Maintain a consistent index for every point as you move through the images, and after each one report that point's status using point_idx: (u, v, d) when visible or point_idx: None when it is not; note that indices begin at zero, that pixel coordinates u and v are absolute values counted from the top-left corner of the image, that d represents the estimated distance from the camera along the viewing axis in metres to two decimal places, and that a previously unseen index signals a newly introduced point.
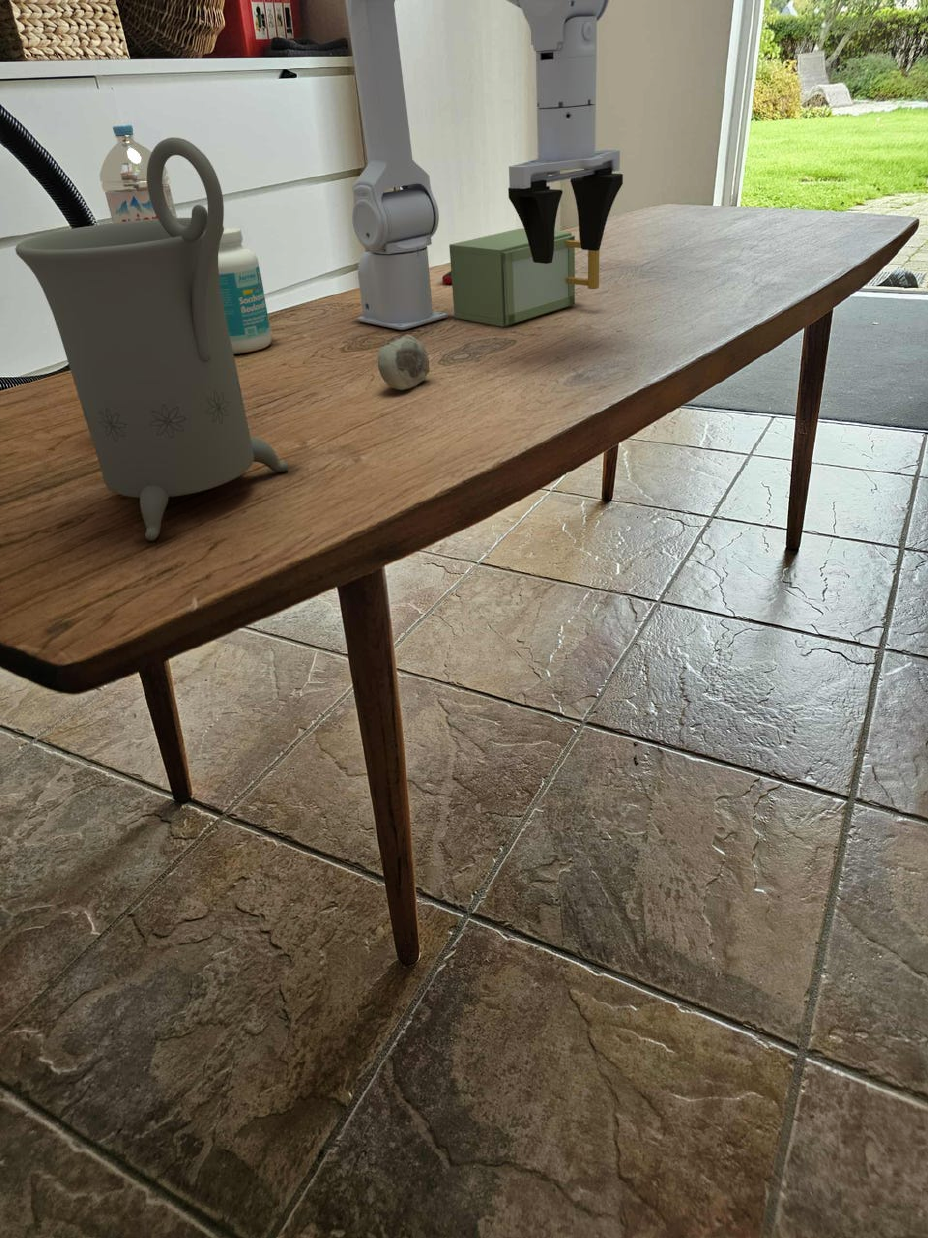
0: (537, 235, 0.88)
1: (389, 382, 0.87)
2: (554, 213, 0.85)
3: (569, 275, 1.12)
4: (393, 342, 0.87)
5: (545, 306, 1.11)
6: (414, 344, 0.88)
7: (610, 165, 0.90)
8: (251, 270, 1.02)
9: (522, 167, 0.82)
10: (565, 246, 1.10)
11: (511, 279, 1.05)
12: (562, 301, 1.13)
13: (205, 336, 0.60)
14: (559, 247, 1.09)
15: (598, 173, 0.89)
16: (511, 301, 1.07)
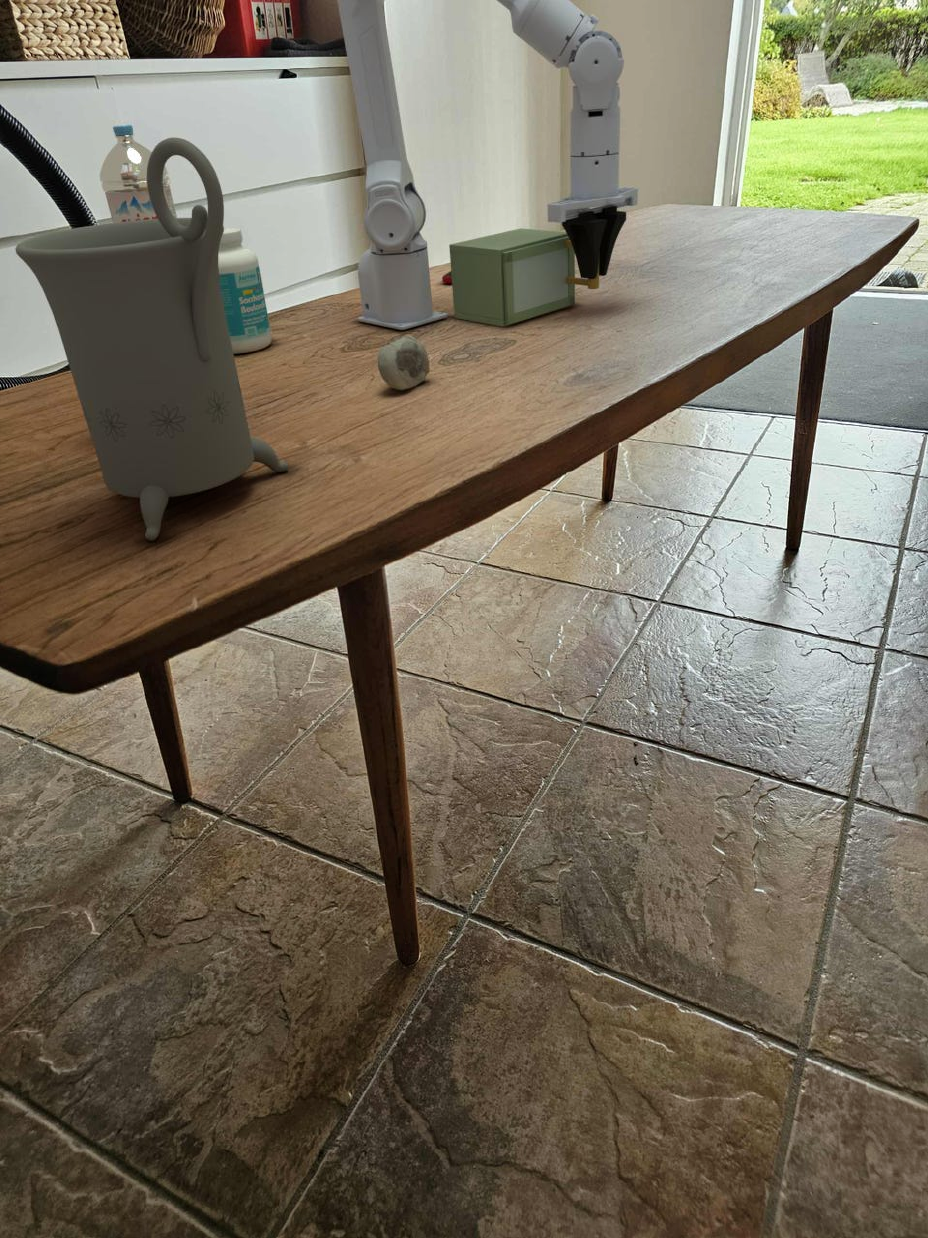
0: (585, 255, 1.07)
1: (389, 382, 0.87)
2: (600, 238, 1.04)
3: (569, 275, 1.12)
4: (393, 342, 0.87)
5: (545, 306, 1.11)
6: (414, 344, 0.88)
7: (630, 200, 1.08)
8: (251, 270, 1.02)
9: (559, 205, 1.00)
10: (565, 246, 1.10)
11: (511, 279, 1.05)
12: (562, 301, 1.13)
13: (205, 336, 0.60)
14: (559, 247, 1.09)
15: (605, 211, 1.05)
16: (511, 301, 1.07)
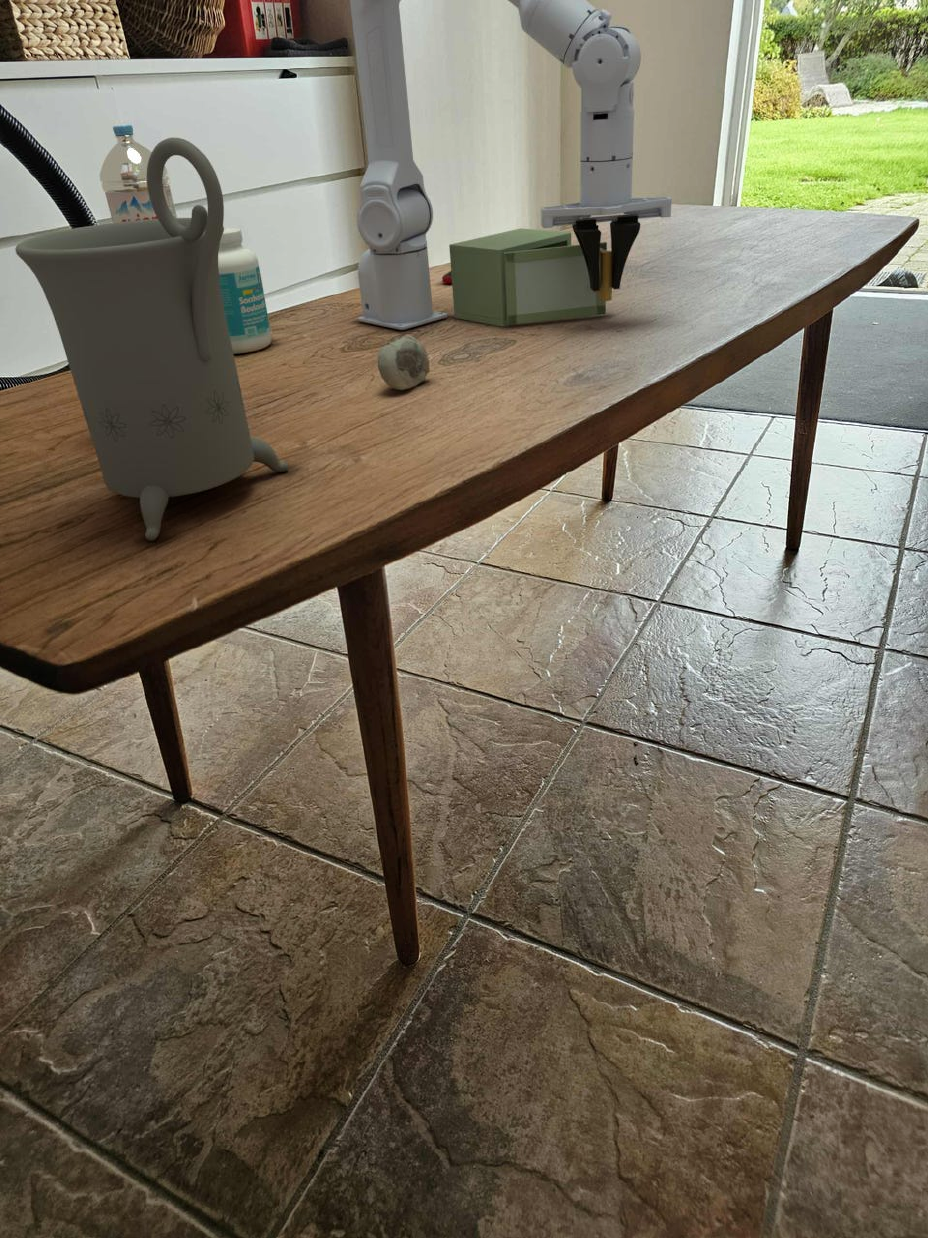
0: None
1: (389, 382, 0.87)
2: (596, 249, 0.98)
3: None
4: (393, 342, 0.87)
5: (561, 312, 1.08)
6: (414, 344, 0.88)
7: (660, 211, 0.98)
8: (251, 270, 1.02)
9: (543, 210, 0.97)
10: None
11: (513, 280, 1.05)
12: (587, 309, 1.08)
13: (205, 336, 0.60)
14: None
15: (619, 220, 0.98)
16: (512, 302, 1.06)
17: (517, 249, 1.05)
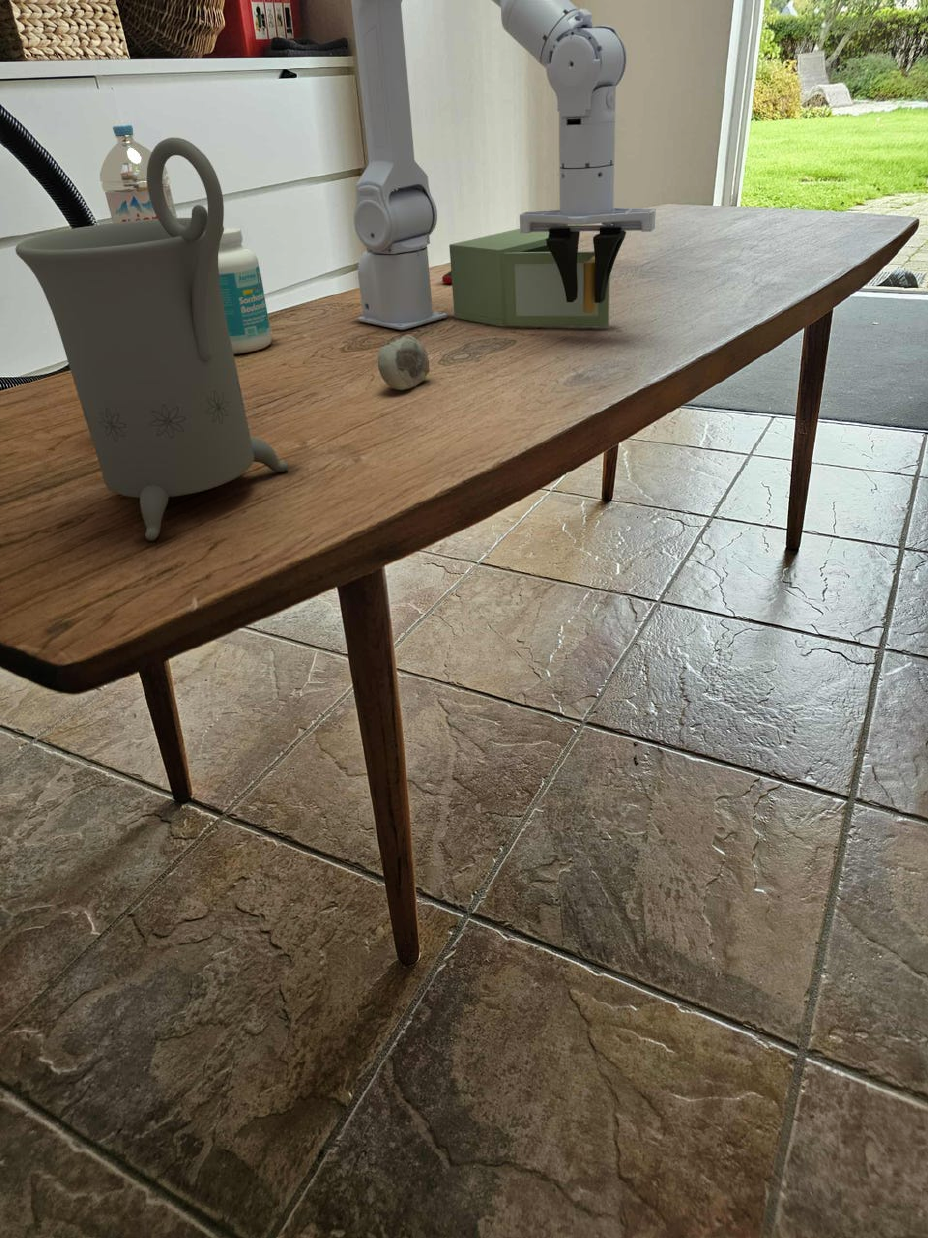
0: None
1: (389, 382, 0.87)
2: (565, 259, 0.95)
3: None
4: (393, 342, 0.87)
5: (560, 319, 1.05)
6: (414, 344, 0.88)
7: (641, 225, 0.91)
8: (251, 270, 1.02)
9: (520, 215, 0.95)
10: None
11: (512, 281, 1.04)
12: (588, 319, 1.04)
13: (205, 336, 0.60)
14: (584, 260, 1.01)
15: (600, 231, 0.93)
16: (511, 303, 1.06)
17: (517, 249, 1.05)
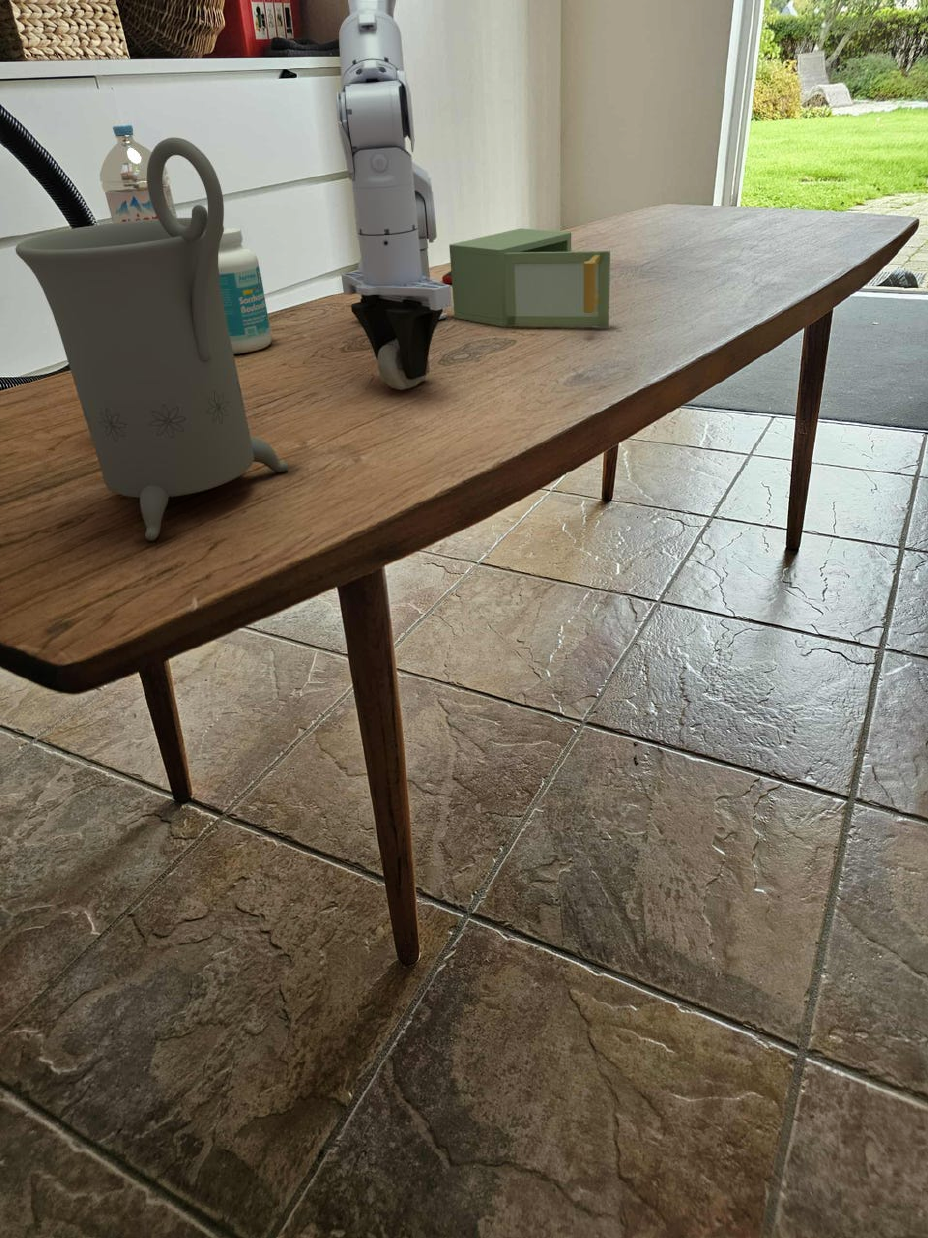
0: None
1: (389, 382, 0.87)
2: (369, 327, 0.87)
3: (599, 293, 1.02)
4: (393, 342, 0.87)
5: (560, 319, 1.05)
6: None
7: None
8: (251, 270, 1.02)
9: (342, 275, 0.89)
10: None
11: (512, 281, 1.04)
12: (588, 319, 1.04)
13: (205, 336, 0.60)
14: (584, 260, 1.01)
15: (403, 303, 0.83)
16: (511, 303, 1.06)
17: (517, 249, 1.05)
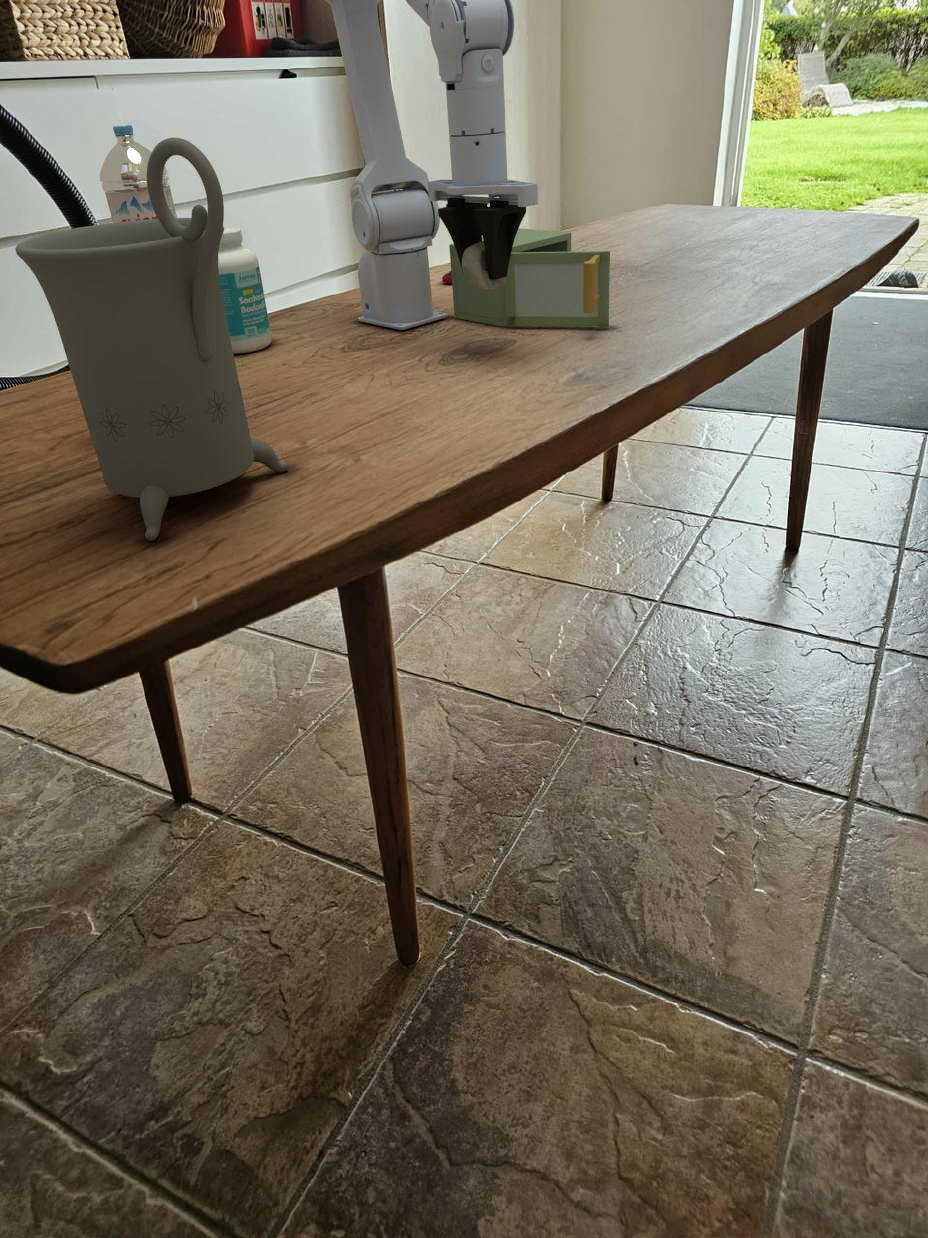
0: None
1: (473, 282, 0.92)
2: (454, 230, 0.92)
3: (599, 293, 1.02)
4: (477, 244, 0.92)
5: (560, 319, 1.05)
6: None
7: None
8: (251, 270, 1.02)
9: (428, 182, 0.94)
10: None
11: (512, 281, 1.04)
12: (588, 319, 1.04)
13: (205, 336, 0.60)
14: (584, 260, 1.01)
15: (490, 203, 0.89)
16: (511, 303, 1.06)
17: (517, 249, 1.05)
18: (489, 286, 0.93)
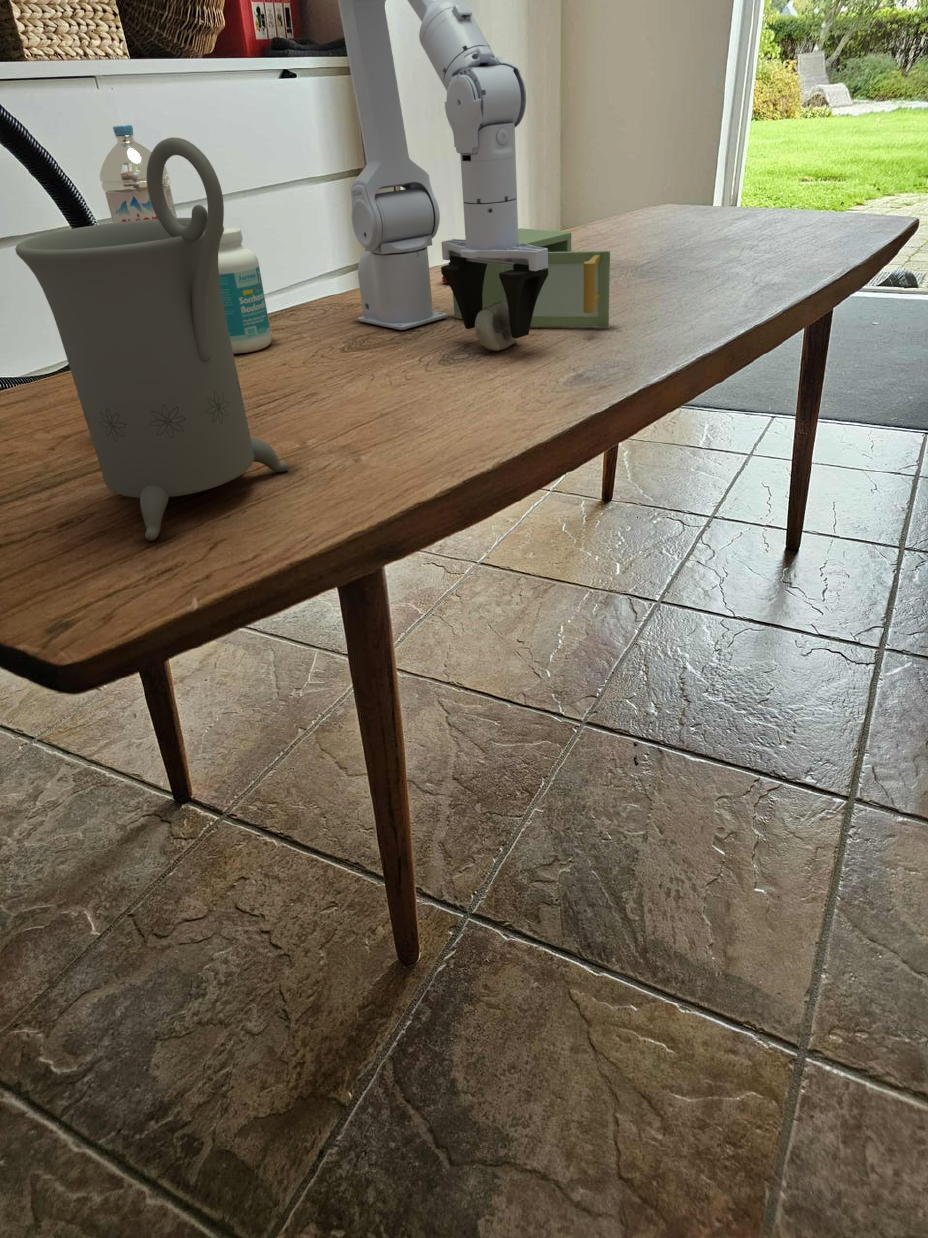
0: None
1: (485, 343, 0.97)
2: (456, 287, 0.98)
3: (599, 293, 1.02)
4: (489, 307, 0.97)
5: (560, 319, 1.05)
6: (507, 310, 0.98)
7: None
8: (251, 270, 1.02)
9: (442, 242, 0.98)
10: None
11: None
12: (588, 319, 1.04)
13: (205, 336, 0.60)
14: (584, 260, 1.01)
15: (513, 267, 0.92)
16: None
17: None
18: (501, 347, 0.98)
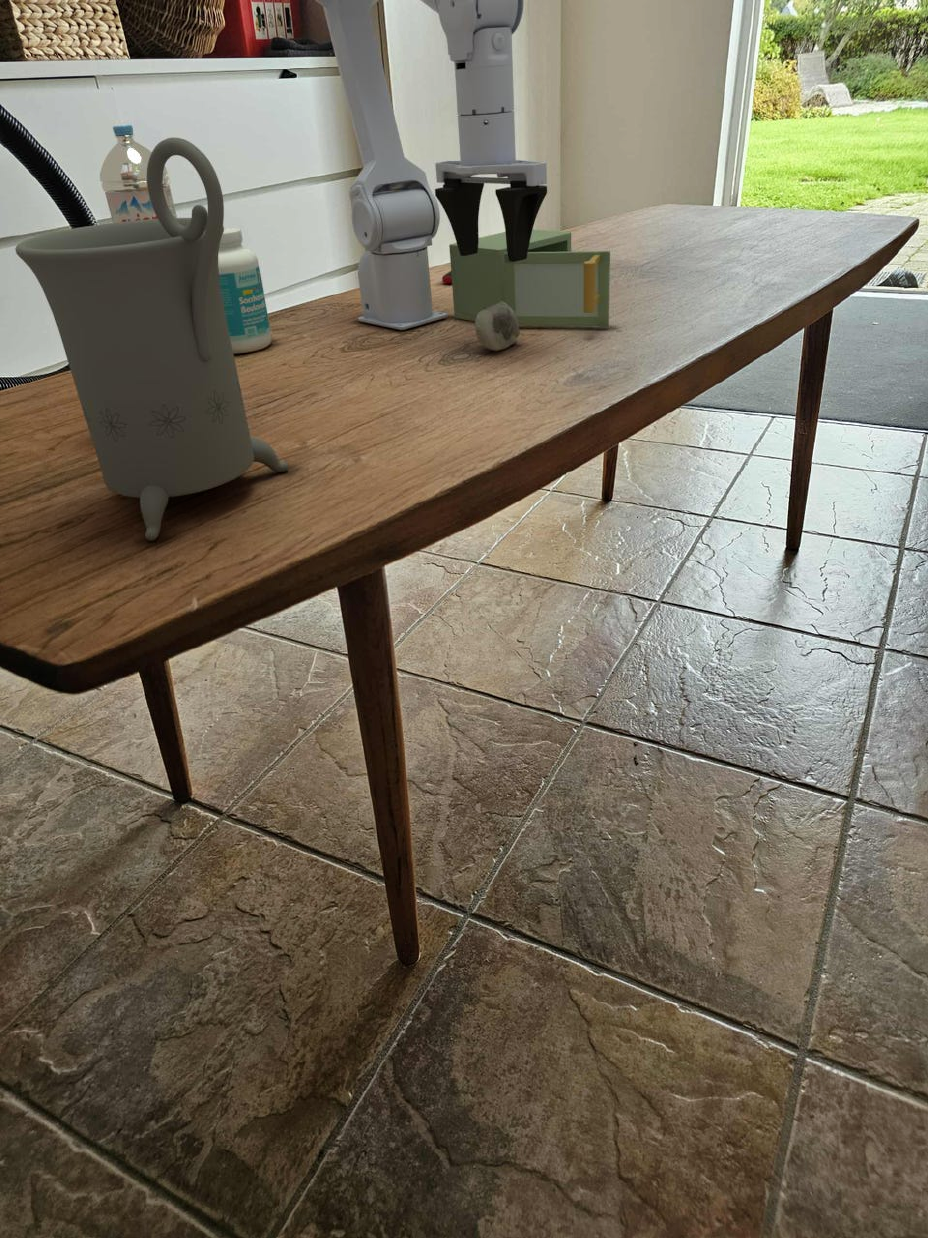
0: None
1: (485, 343, 0.97)
2: (451, 210, 0.94)
3: (599, 293, 1.02)
4: (489, 307, 0.97)
5: (560, 319, 1.05)
6: (507, 310, 0.98)
7: None
8: (251, 270, 1.02)
9: None
10: None
11: (512, 281, 1.04)
12: (588, 319, 1.04)
13: (205, 336, 0.60)
14: (584, 260, 1.01)
15: (511, 184, 0.88)
16: (511, 303, 1.06)
17: None
18: (501, 347, 0.98)
